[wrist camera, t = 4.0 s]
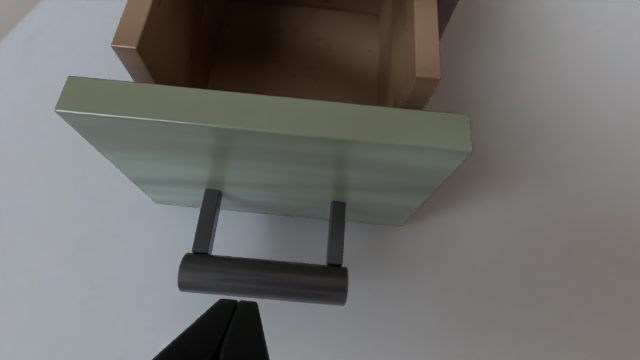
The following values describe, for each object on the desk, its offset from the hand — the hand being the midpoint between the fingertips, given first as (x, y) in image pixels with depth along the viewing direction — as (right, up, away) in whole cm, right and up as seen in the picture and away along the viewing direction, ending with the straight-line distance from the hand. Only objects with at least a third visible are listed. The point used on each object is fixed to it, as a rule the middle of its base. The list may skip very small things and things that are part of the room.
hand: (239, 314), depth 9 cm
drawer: (0, +5, +10) cm, 12 cm away
